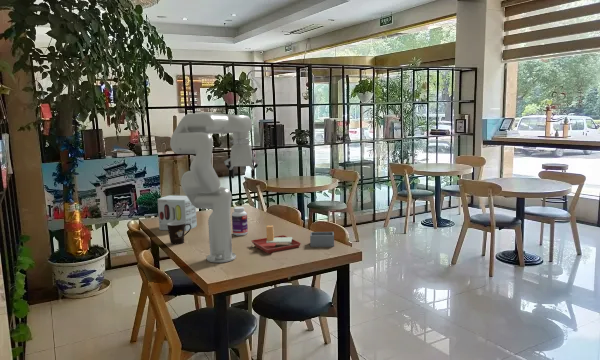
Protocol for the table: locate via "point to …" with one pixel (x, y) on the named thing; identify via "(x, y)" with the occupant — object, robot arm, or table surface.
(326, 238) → the tub
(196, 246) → the table surface
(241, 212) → the pill bottle
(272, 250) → the plant saucer
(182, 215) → the supplement box
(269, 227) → the white tan l-shaped piece
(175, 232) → the coffee mug
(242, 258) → the table surface
